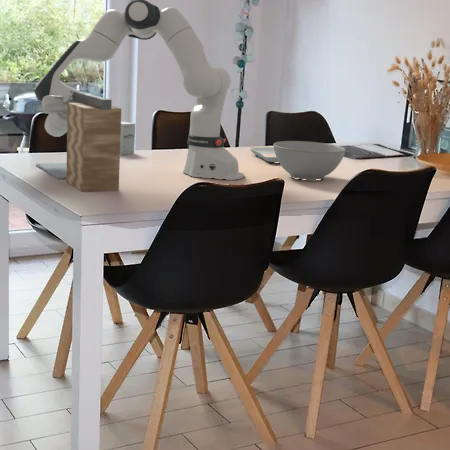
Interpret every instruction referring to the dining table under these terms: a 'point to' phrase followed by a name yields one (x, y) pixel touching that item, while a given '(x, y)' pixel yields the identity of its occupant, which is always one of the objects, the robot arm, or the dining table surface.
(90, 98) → the bar
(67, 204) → the dining table surface
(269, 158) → the square plate
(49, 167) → the mat
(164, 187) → the dining table surface
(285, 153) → the decorative bowl
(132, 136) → the supplement box
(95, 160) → the pedestal
